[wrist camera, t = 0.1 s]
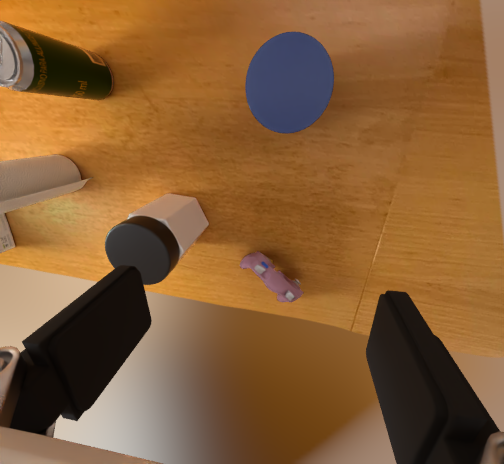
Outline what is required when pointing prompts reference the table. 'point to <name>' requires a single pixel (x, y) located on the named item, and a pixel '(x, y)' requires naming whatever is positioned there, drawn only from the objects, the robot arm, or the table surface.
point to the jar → (156, 236)
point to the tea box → (5, 235)
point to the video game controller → (272, 277)
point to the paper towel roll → (36, 180)
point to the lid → (289, 82)
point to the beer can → (50, 66)
